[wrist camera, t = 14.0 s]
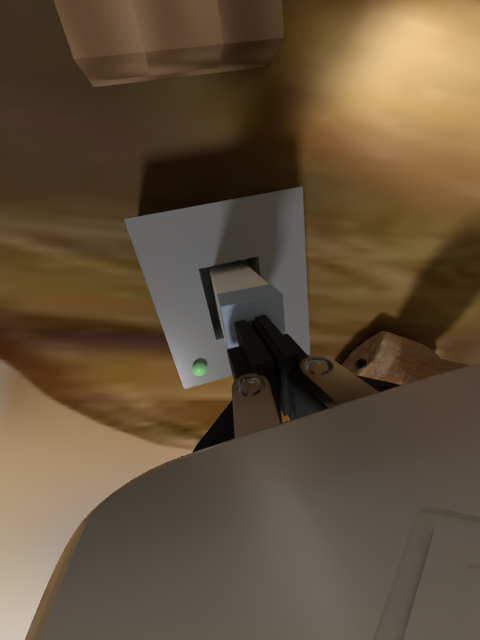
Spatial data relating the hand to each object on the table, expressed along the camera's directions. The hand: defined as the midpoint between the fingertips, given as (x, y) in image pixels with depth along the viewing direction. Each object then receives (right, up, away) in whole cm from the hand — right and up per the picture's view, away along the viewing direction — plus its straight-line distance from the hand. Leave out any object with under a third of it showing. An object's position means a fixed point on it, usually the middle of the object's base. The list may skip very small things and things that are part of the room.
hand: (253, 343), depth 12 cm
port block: (-2, +5, +10) cm, 11 cm away
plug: (-2, +4, +10) cm, 11 cm away
